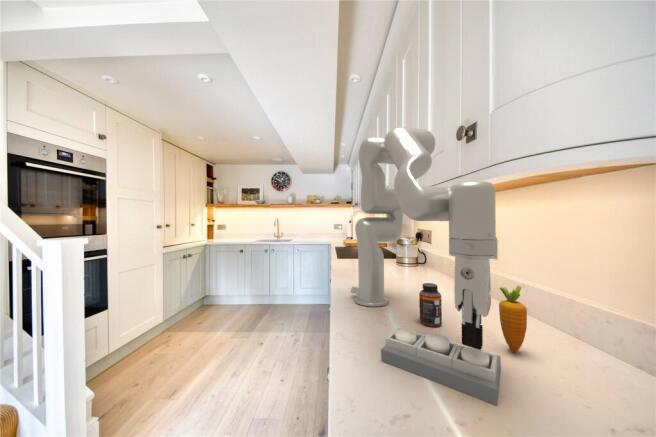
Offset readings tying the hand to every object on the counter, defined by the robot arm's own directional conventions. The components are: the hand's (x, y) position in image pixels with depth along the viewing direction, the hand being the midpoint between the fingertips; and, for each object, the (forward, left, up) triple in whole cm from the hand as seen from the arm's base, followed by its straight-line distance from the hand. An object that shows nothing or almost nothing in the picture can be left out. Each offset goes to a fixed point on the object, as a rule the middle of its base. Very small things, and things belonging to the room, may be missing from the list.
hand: (472, 345), depth 44 cm
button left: (-13, 0, -3) cm, 13 cm away
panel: (-6, +1, -6) cm, 9 cm away
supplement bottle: (-13, +21, -6) cm, 25 cm away
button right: (0, 0, -3) cm, 3 cm away
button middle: (-6, 0, -2) cm, 7 cm away
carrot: (+6, +16, -6) cm, 18 cm away
